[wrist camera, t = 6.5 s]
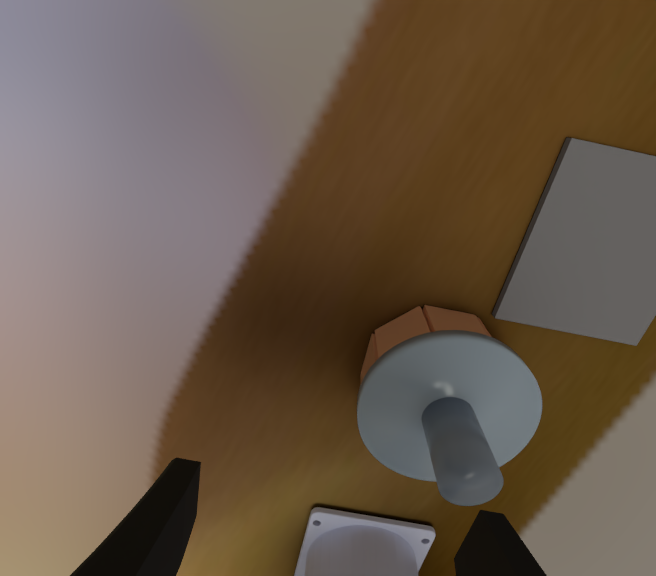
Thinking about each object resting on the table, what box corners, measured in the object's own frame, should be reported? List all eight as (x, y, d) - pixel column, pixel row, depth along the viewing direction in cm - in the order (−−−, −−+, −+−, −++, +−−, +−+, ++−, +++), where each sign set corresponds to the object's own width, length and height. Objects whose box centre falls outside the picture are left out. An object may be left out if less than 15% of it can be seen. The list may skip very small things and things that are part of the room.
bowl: (469, 425, 21) (487, 471, 19) (351, 404, 21) (352, 447, 18) (516, 322, 19) (545, 358, 16) (382, 296, 18) (388, 328, 16)
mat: (630, 341, 19) (636, 345, 18) (491, 314, 18) (494, 318, 18) (733, 173, 15) (742, 175, 15) (566, 137, 15) (572, 137, 15)
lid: (489, 481, 19) (524, 568, 15) (338, 448, 18) (336, 532, 15) (566, 353, 16) (633, 426, 12) (385, 310, 15) (399, 372, 12)
